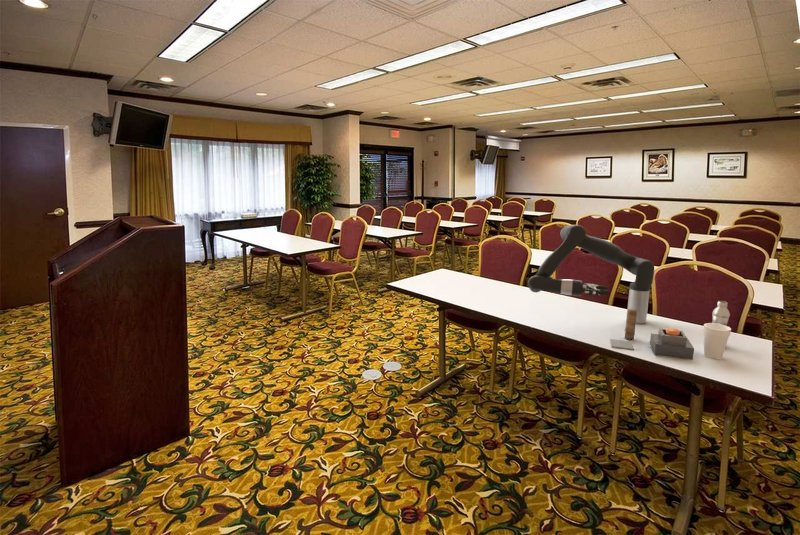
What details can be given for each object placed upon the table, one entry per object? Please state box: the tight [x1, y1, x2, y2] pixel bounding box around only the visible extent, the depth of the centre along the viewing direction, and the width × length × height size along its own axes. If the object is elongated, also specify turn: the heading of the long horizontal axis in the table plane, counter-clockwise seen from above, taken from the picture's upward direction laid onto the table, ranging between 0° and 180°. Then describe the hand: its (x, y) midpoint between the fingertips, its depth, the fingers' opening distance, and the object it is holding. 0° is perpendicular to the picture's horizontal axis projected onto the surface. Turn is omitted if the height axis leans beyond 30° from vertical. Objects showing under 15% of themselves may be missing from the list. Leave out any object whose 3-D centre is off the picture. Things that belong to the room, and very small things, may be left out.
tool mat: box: [609, 338, 635, 351], centre depth 201 cm, size 10×9×1 cm
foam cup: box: [702, 322, 732, 360], centre depth 187 cm, size 10×9×13 cm
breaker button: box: [665, 327, 681, 336], centre depth 192 cm, size 5×5×2 cm
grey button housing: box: [649, 328, 695, 361], centre depth 193 cm, size 14×14×8 cm
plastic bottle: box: [711, 300, 731, 326], centre depth 200 cm, size 6×7×20 cm
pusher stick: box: [624, 308, 637, 341], centre depth 208 cm, size 4×4×14 cm
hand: (608, 290), depth 208 cm, fingers open, 8 cm apart
